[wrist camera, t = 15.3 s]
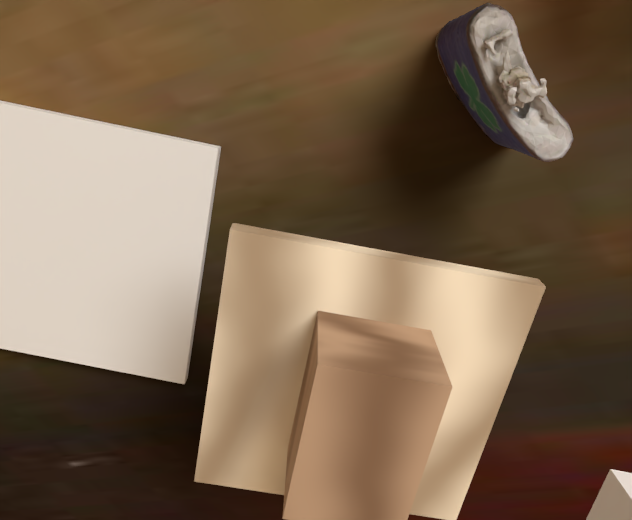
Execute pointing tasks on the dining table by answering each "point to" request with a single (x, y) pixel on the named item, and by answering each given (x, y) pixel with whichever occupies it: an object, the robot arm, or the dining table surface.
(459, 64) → the flask
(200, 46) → the dining table surface
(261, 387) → the lid
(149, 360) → the mat
